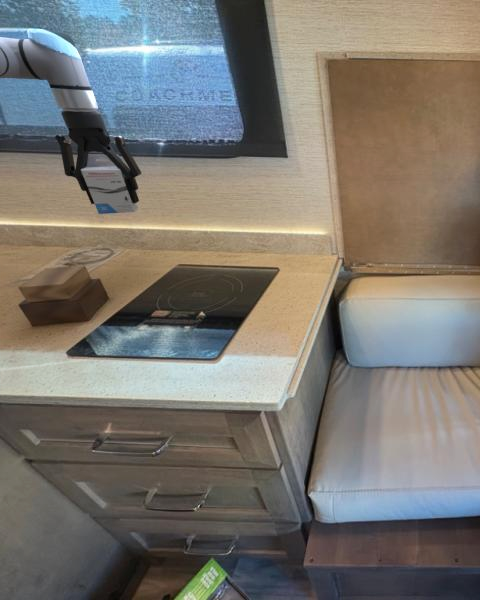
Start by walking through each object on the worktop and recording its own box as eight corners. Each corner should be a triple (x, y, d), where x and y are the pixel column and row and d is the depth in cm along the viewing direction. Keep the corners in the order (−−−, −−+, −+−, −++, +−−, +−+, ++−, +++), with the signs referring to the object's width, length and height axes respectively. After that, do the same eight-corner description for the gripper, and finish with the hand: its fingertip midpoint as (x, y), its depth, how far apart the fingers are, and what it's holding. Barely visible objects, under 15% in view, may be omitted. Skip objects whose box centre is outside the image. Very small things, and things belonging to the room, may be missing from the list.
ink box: (98, 214, 91) (73, 157, 83) (103, 209, 94) (79, 154, 87) (135, 212, 94) (115, 156, 86) (139, 207, 98) (119, 153, 90)
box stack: (32, 326, 77) (7, 289, 72) (59, 302, 86) (39, 267, 81) (88, 320, 80) (68, 284, 74) (109, 298, 89) (93, 264, 83)
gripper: (137, 112, 87) (164, 198, 99) (35, 107, 82) (76, 199, 93) (125, 113, 81) (155, 205, 93) (14, 108, 75) (61, 206, 87)
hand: (115, 202), depth 93 cm, fingers closed on ink box, 9 cm apart
